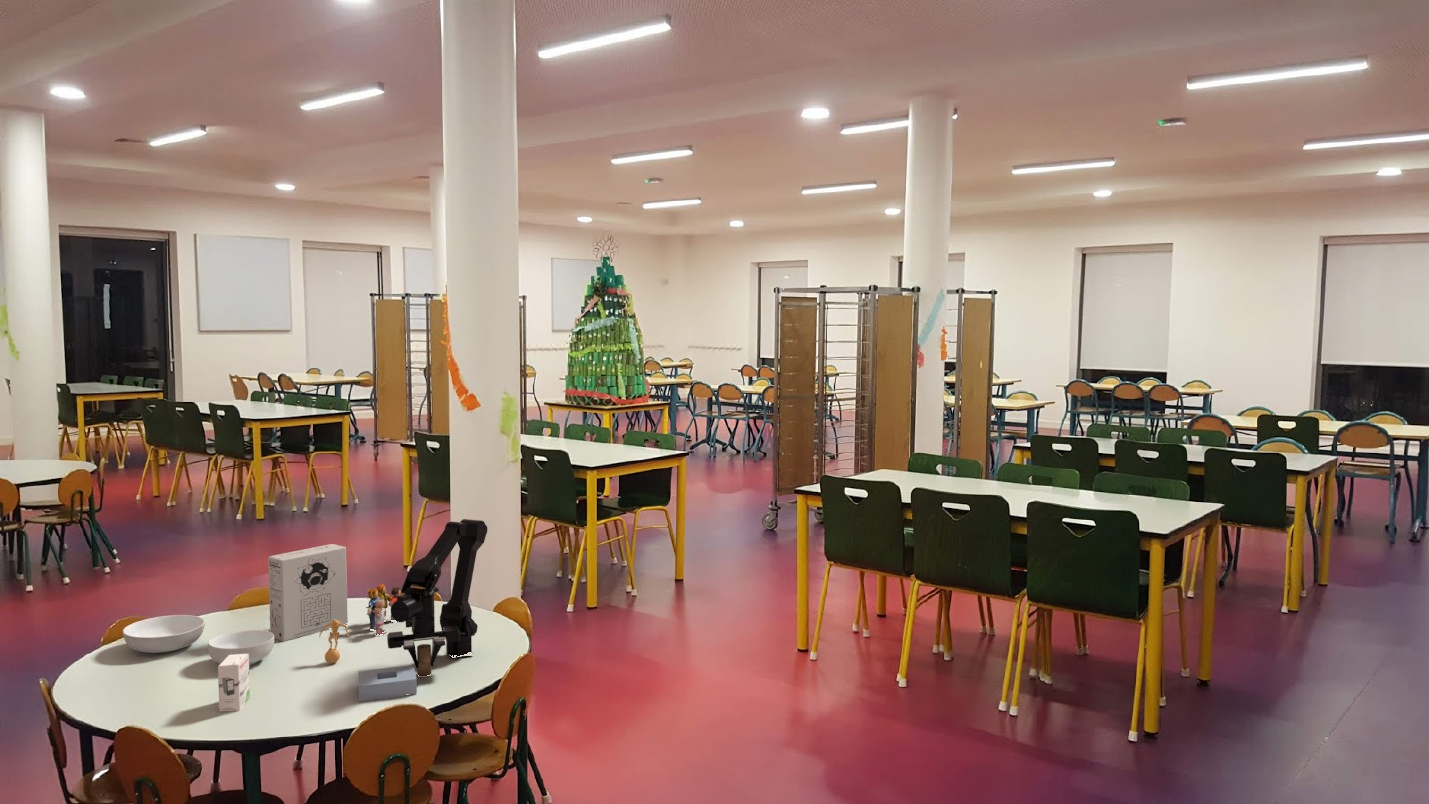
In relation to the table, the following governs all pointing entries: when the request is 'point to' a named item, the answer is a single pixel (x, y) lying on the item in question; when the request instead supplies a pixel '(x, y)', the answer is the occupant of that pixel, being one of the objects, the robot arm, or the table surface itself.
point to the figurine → (334, 654)
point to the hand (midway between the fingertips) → (424, 667)
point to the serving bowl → (163, 633)
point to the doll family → (380, 606)
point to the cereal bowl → (241, 645)
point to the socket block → (386, 682)
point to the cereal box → (307, 591)
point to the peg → (424, 659)
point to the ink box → (233, 682)
